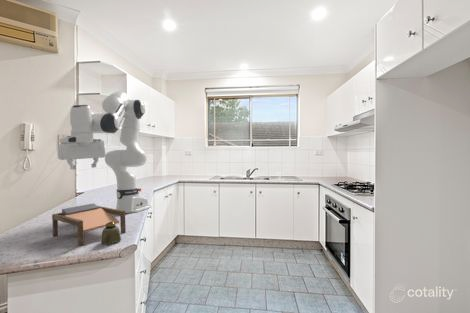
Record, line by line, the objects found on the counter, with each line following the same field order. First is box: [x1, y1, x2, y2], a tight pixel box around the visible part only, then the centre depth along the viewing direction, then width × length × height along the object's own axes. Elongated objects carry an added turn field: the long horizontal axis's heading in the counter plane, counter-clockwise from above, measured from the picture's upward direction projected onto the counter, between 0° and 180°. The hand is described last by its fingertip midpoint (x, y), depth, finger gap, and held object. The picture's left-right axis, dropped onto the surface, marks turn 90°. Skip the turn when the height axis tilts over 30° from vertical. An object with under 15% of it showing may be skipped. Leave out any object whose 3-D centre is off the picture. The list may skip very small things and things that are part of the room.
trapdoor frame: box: [51, 205, 127, 247], centre depth 114 cm, size 20×24×10 cm
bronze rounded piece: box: [100, 222, 122, 246], centre depth 103 cm, size 8×7×8 cm
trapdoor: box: [61, 203, 120, 234], centre depth 113 cm, size 16×21×2 cm
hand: (83, 168), depth 118 cm, fingers open, 8 cm apart
